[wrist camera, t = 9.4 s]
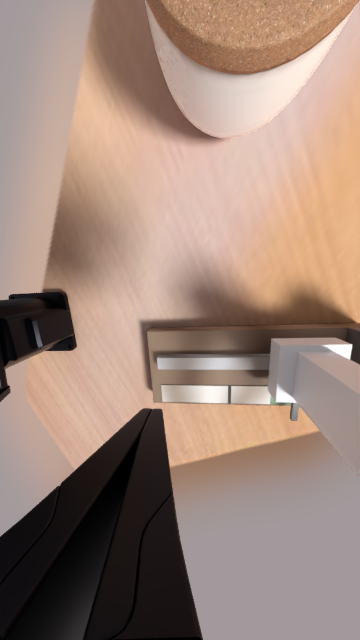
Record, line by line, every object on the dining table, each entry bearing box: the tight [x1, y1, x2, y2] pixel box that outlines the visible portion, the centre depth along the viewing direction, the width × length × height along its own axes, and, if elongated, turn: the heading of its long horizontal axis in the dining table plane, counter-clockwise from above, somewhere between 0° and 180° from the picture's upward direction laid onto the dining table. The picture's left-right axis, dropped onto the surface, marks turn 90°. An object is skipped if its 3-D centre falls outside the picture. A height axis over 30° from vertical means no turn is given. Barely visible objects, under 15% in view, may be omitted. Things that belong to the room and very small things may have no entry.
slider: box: [268, 337, 360, 478], centre depth 10 cm, size 5×8×10 cm, turn 3°
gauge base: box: [147, 323, 360, 406], centre depth 15 cm, size 20×8×6 cm, turn 93°
